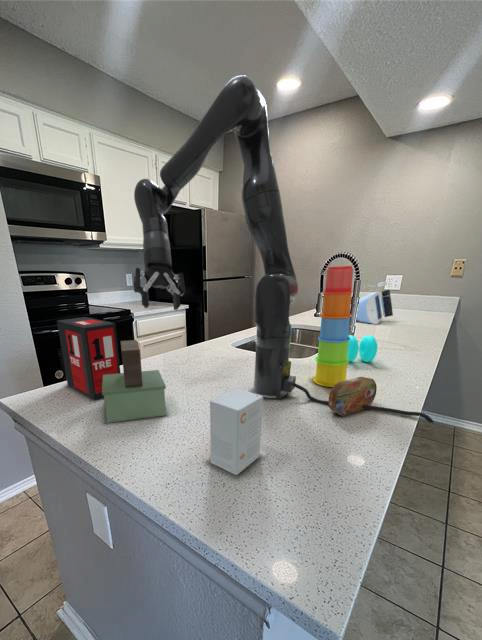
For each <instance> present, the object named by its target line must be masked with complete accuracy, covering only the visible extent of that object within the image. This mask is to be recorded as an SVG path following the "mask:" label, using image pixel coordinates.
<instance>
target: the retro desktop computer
mask: <svg viewBox="0 0 482 640" xmlns="http://www.w3.org/2000/svg"><path fill="white" fill-rule="evenodd" d="M387 285H388V282H387V281H381V282H378V283H377V287H378V289H370V290H369V291H368V292H367V293H366V294H365V293H364V292H362V293H363V295H364V296H363V297H361V298H360V299H358V300H359V305H358V311H357V317H356V320H355V321H356V322H360V323H367V324H372V325H378V324H380V323H381V322H382V321H383V317H384V318H388V317H393V316H394V312H393V304H392V297H391V289H389V288H387V289H384V290H380V288H381V287H384V286H387ZM368 286H369V287H371V285H370V284H368ZM373 287H375V285H372V288H373ZM364 288H365V287H363V289H362V290H364ZM370 291H374V292H372V293H369V292H370Z"/></svg>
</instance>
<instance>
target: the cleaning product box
mask: <svg viewBox="0 0 482 640" xmlns="http://www.w3.org/2000/svg"><path fill="white" fill-rule="evenodd" d="M56 325H57V330H58V337H59V343H60V349H61V353H62V354H61V355H62V361H63V366H64V367H63V368H64V371H65V372H64V373H65V378H66V385H67V386H68V387H70V388H72V389H73V390H75V391H77V392H79V393H81V394H82V395H84V396H86V397H88V398H90V399H91V400H93V401H96V400H100V399H102V398H103V399H104V395H102V383H103V375H107V374H118V373H121V365H120V355H119V345H118V337H117V327H116V323H115V322H111V321H106V320H102V319H97V318H93V317H88V316H83V317H75V318H66V319H59V320H56Z"/></svg>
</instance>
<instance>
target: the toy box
mask: <svg viewBox="0 0 482 640" xmlns="http://www.w3.org/2000/svg"><path fill="white" fill-rule="evenodd" d="M142 384H143V386H138V387H128V388H126V387H125V380H124V372H120V373H118V374H107V375H103V383H102V395H104V397H103V400H104V407H105V409H104V410H105V415H106V423H107V424H108V423H115V422H121V421H122V422H123V421H130V420H141V419H147V418H155V417H156V418H157V417H162V416H163V417H164V416H166V415H167V412H166V396H165V395H166V394H165V390H166V388H167V387H166V383H165V381H164V379H163V377H162V375H161V372H160V370H159V369H153V370H144V371H143V370H142Z"/></svg>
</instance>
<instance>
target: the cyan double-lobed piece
mask: <svg viewBox="0 0 482 640" xmlns="http://www.w3.org/2000/svg"><path fill="white" fill-rule="evenodd" d="M348 337H350V340H349V342H348V354H347V358H348V359H349V363H350V362H351V363H352V362H354V360H356V358H357V357H358V354H359V357H360V359H361V360H362V361H363V362H365V363H370V362H372V361H374V359H375V358H376V356H377V353H378V342H377V339H376V338H375V337H374V336H373V335H371V334H368V335H365V336H363V338H362V339H361V340H360V342H358V339H357V338H356V337H355V336H354V335H351V334H349V336H348Z"/></svg>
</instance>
